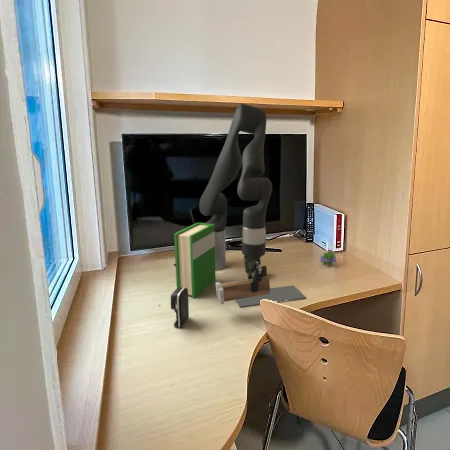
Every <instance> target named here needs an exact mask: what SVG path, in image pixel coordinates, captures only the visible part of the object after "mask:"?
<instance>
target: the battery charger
mask: <svg viewBox="0 0 450 450" xmlns="http://www.w3.org/2000/svg"><path fill="white" fill-rule="evenodd" d="M189 304H190V303H189V295H188V289H187V288H177V287H176V289H175V290H174V291H173V292H172V293H171V295H170V309H171V310H173V311H174V312H175V315H176V318H175V319H176V320H175V321H174V323H173V326H174V327H175V328H183V327H184V326H185V324H186V323H187V321H188V320H189V319H190V316H189V315H190V312H189V310H190V309H189Z"/></svg>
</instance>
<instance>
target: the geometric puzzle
mask: <svg viewBox="0 0 450 450" xmlns="http://www.w3.org/2000/svg"><path fill="white" fill-rule="evenodd" d="M319 257H320V262H321V263H322V265H325V266H327V267H328V268H330V266H333V265H335V264H337V257H336V255H335V253H334V252H333V251H330V250H328V251H327V252H323V254H322V255H320V256H319Z"/></svg>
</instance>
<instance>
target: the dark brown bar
mask: <svg viewBox="0 0 450 450" xmlns="http://www.w3.org/2000/svg"><path fill="white" fill-rule="evenodd" d="M261 268H264V272H263V276H262V277H267V273H268V272H267V271H268V269H267V266H266V265H261Z"/></svg>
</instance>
